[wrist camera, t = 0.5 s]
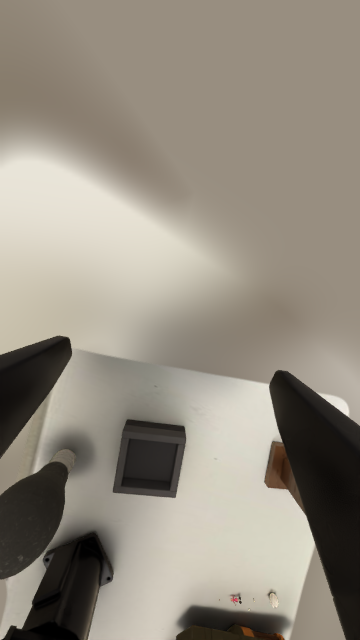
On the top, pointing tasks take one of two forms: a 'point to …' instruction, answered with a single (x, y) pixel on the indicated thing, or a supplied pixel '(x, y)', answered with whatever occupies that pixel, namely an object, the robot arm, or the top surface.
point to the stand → (281, 472)
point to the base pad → (150, 459)
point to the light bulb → (32, 514)
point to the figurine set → (272, 598)
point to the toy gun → (225, 634)
